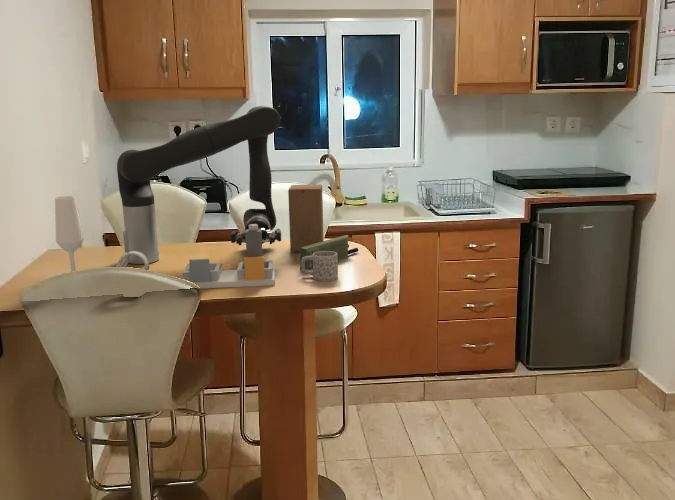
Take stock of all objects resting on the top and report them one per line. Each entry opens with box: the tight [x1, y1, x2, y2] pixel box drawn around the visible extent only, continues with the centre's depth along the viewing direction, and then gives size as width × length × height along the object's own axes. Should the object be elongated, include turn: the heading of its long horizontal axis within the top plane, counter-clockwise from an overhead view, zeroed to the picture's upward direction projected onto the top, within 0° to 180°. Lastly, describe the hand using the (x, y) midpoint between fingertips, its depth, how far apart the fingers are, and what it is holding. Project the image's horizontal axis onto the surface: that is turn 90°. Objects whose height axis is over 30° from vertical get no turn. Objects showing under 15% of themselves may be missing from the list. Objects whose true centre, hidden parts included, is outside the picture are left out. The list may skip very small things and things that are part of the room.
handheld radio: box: [299, 234, 359, 271], centre depth 199 cm, size 7×3×25 cm
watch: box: [115, 251, 150, 271], centre depth 169 cm, size 6×8×11 cm
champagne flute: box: [54, 195, 85, 273], centre depth 174 cm, size 7×7×24 cm
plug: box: [245, 224, 264, 257], centre depth 179 cm, size 4×4×14 cm
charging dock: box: [182, 256, 276, 289], centre depth 179 cm, size 24×12×8 cm, turn 95°
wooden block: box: [287, 183, 325, 253], centre depth 214 cm, size 10×10×20 cm
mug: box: [301, 251, 339, 282], centre depth 181 cm, size 10×7×7 cm, turn 77°
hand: (255, 241), depth 186 cm, fingers open, 8 cm apart
